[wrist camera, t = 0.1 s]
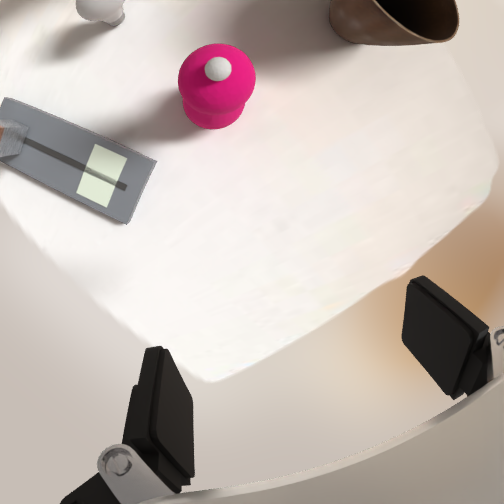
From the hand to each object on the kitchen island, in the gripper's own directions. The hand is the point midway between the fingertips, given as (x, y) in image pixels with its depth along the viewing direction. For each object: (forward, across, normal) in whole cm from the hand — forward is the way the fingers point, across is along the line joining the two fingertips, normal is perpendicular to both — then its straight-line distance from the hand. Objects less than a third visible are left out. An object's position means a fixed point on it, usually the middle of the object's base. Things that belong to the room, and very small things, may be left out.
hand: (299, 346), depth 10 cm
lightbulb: (+31, +10, -29) cm, 44 cm away
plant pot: (+31, -23, -23) cm, 45 cm away
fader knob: (+29, +28, -17) cm, 44 cm away
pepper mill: (+31, 0, -12) cm, 34 cm away
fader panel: (+31, +22, -12) cm, 40 cm away
